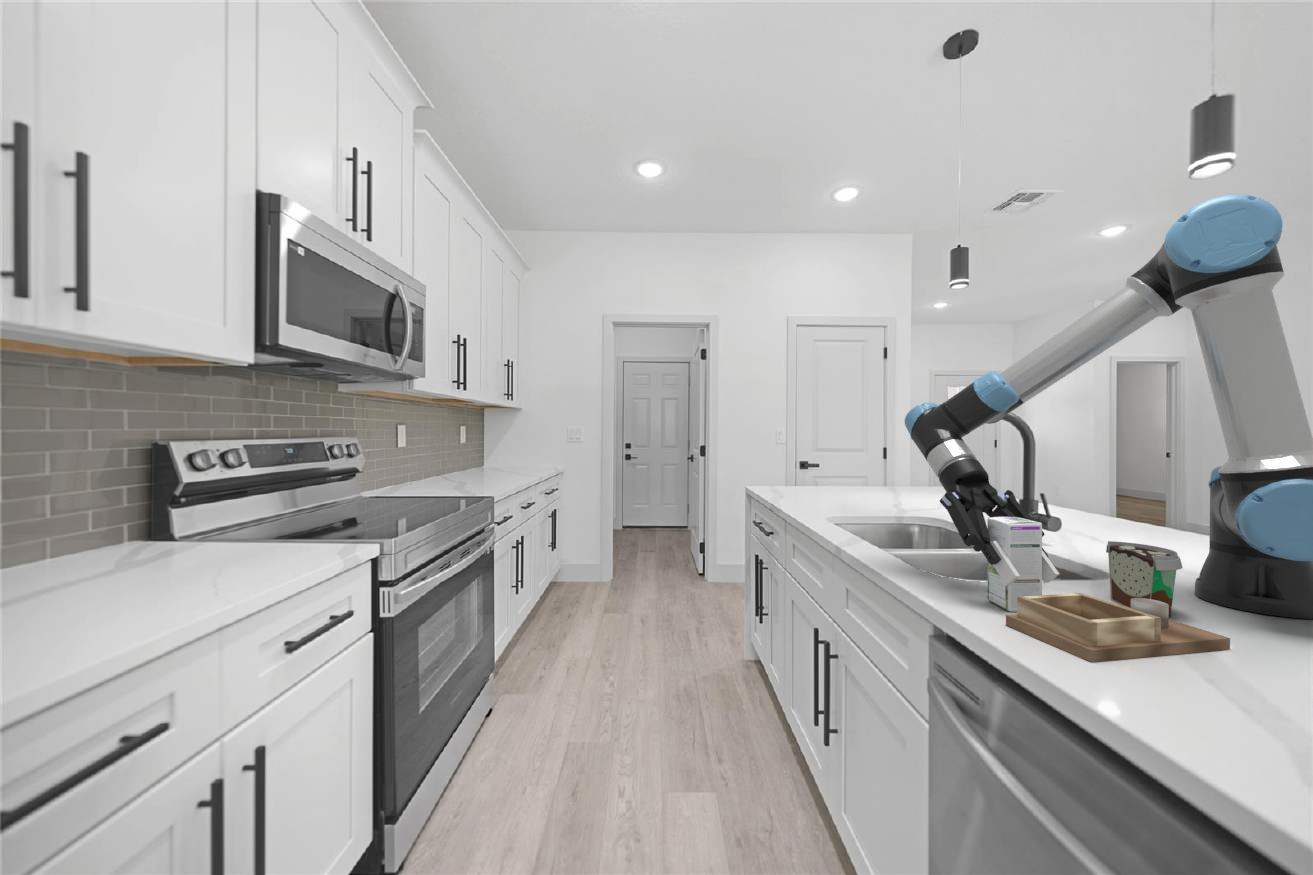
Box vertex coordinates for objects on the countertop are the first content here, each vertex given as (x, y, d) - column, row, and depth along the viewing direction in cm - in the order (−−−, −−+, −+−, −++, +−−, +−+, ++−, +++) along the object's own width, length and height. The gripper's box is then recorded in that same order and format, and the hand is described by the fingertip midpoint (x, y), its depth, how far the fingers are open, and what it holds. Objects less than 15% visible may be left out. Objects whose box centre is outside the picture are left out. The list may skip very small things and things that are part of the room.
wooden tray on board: (1127, 616, 84) (1127, 587, 83) (1230, 649, 71) (1230, 615, 71) (1005, 625, 80) (1006, 595, 79) (1091, 662, 67) (1091, 626, 67)
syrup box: (1044, 612, 85) (1045, 522, 85) (1006, 612, 85) (1007, 521, 85) (1020, 601, 91) (1021, 516, 91) (985, 601, 91) (986, 516, 91)
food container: (1204, 625, 80) (1205, 558, 79) (1156, 622, 81) (1156, 556, 81) (1146, 600, 92) (1147, 542, 92) (1105, 597, 93) (1106, 540, 93)
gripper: (991, 481, 105) (1068, 588, 89) (902, 483, 101) (966, 594, 85) (1014, 455, 99) (1100, 564, 84) (920, 456, 96) (992, 570, 80)
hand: (1032, 579), depth 85 cm, fingers closed on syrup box, 6 cm apart
